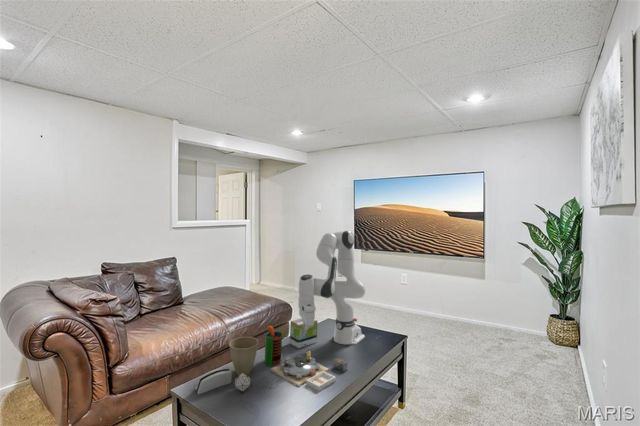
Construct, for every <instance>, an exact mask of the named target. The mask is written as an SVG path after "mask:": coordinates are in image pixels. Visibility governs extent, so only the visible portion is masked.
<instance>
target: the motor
mask: <svg viewBox="0 0 640 426" xmlns="http://www.w3.org/2000/svg"><path fill="white" fill-rule="evenodd" d="M266 331H268V332H266V333H265V337H264V339H265V341H264V364H265V365H266V366H267V367H273V366H278V365H280V364H281V363H280V362H281V360H282V346H283V345H282V341H283V340H282V339H283V332H282V331H276V330H274V326H272V325H267V327H266Z"/></svg>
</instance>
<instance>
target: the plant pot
mask: <svg viewBox="0 0 640 426" xmlns="http://www.w3.org/2000/svg"><path fill="white" fill-rule="evenodd" d="M228 345H229V352H230V357H231V361H232V364H233V368H234V370H235V373H236V374H237V375H238V376H239V375H240V374H241V373H242V371H243V373H244V374H246V375H249V374H251V371H252V369H253V366H254V363H255V361H256V356H257V352H258V346H259V340H258V339H257V338H255V337H252V336H240V337H236V338H233V339H232V340H231V341H229V344H228Z"/></svg>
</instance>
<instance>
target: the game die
mask: <svg viewBox="0 0 640 426" xmlns="http://www.w3.org/2000/svg"><path fill="white" fill-rule="evenodd" d="M251 378H252V376H249V374H247V375H246V374H244V373H243V371H242V373H241V374H240V375H238V376H236V378H233V380H234V387H233V389H235V388H236V389H237V390H238V391H241V394H244V391H246V390H247V389H248V388H249V387H252V384H251Z"/></svg>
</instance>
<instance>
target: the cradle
mask: <svg viewBox="0 0 640 426" xmlns="http://www.w3.org/2000/svg"><path fill="white" fill-rule="evenodd" d="M336 379H337V378H336V376H334V374H330V373H329V372H328V371H327V372H325V371H322V372H321V373H319V374H317V375H315V376H313V377H311V378H309V379H307V380H306V383H305V384H306V386H308V387H310V388H311V389H313V390H315V391H317V392H320V391H323V389H325V388H328V387H329V386H330V385H332V384H334V383H336Z"/></svg>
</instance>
